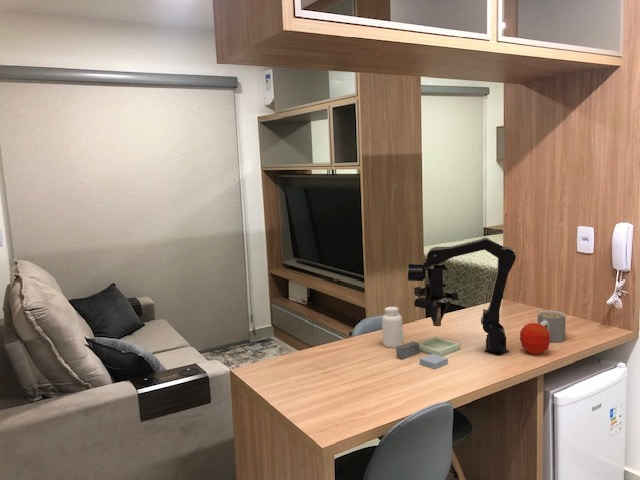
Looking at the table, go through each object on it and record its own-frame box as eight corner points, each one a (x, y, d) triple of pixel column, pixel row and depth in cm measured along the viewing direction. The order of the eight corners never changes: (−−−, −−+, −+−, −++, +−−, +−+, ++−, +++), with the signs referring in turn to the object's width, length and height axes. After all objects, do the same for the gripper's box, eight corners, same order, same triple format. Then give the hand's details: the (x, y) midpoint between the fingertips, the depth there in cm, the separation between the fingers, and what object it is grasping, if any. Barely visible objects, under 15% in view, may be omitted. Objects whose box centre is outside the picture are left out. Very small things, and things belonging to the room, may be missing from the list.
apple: (554, 351, 194) (554, 321, 192) (542, 359, 187) (542, 327, 186) (527, 345, 201) (527, 316, 200) (515, 353, 195) (514, 322, 193)
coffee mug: (548, 333, 214) (548, 309, 213) (570, 339, 206) (571, 314, 204) (526, 339, 208) (526, 315, 207) (547, 346, 199) (548, 320, 198)
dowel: (442, 325, 201) (442, 307, 200) (437, 326, 200) (437, 308, 199) (436, 323, 204) (436, 305, 203) (431, 325, 202) (430, 307, 201)
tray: (460, 349, 202) (460, 343, 201) (439, 357, 195) (439, 351, 194) (436, 342, 211) (435, 336, 211) (415, 349, 204) (415, 344, 204)
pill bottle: (380, 346, 209) (378, 310, 207) (387, 340, 216) (385, 304, 214) (399, 349, 206) (397, 311, 204) (405, 342, 213) (404, 306, 211)
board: (448, 365, 188) (447, 358, 188) (434, 370, 184) (434, 363, 183) (432, 360, 193) (432, 353, 193) (419, 365, 189) (419, 358, 189)
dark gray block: (419, 353, 200) (419, 343, 199) (402, 359, 195) (402, 349, 194) (413, 351, 202) (413, 341, 202) (396, 357, 197) (396, 347, 196)
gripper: (435, 274, 211) (437, 312, 213) (402, 282, 200) (404, 322, 202) (458, 278, 202) (459, 317, 204) (425, 286, 191) (426, 328, 193)
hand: (437, 321), depth 201 cm, fingers closed on dowel, 3 cm apart
